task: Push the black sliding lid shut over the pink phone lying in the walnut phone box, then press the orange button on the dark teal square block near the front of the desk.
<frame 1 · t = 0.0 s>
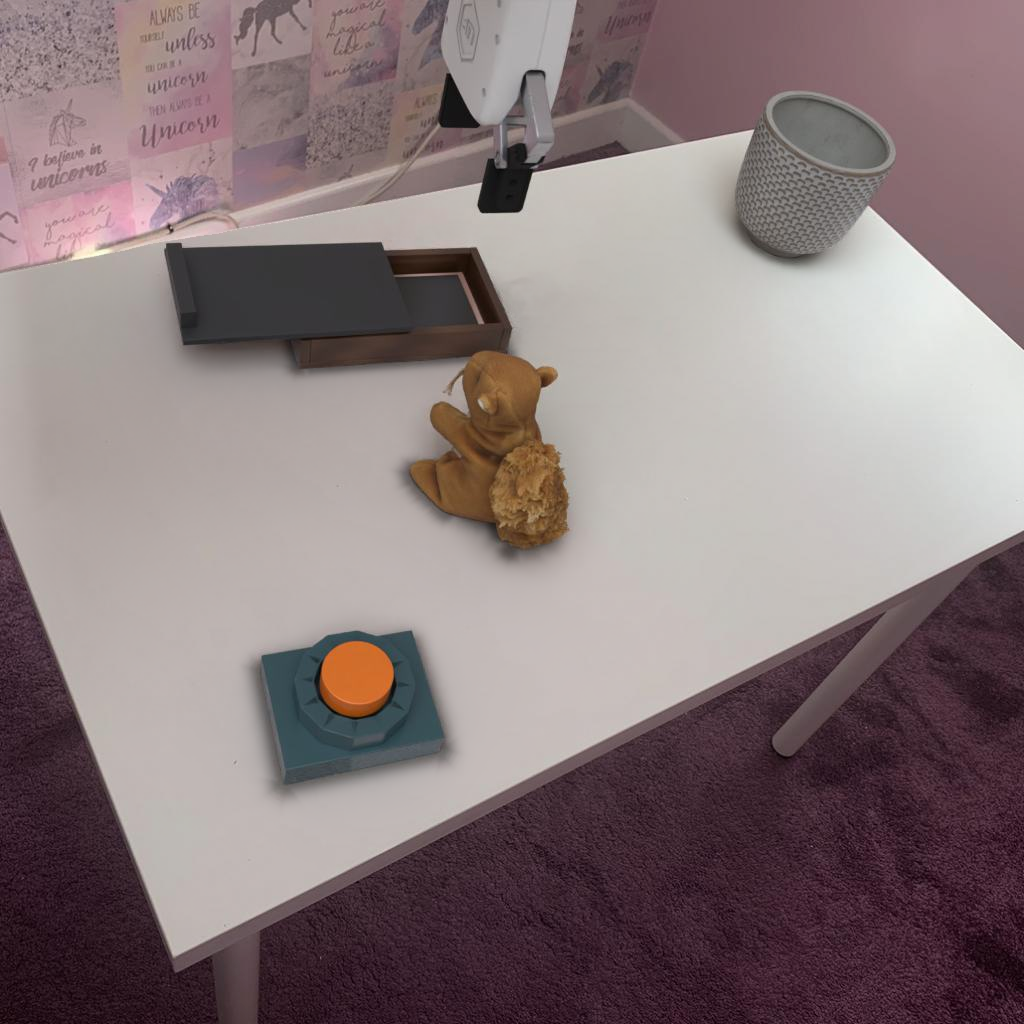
hand: (478, 166, 75), 19 cm above the table, tool pointing down, fingers open, 9 cm apart
stuffed squirrel: (494, 504, 82), on the table
phone box: (390, 318, 92), on the table
dark teal square block: (349, 711, 69), on the table
button: (356, 678, 65), point 4 cm above the table, slide at 0.1 cm
lid: (289, 282, 85), point 5 cm above the table, slide at 9.0 cm
planter: (775, 238, 113), on the table
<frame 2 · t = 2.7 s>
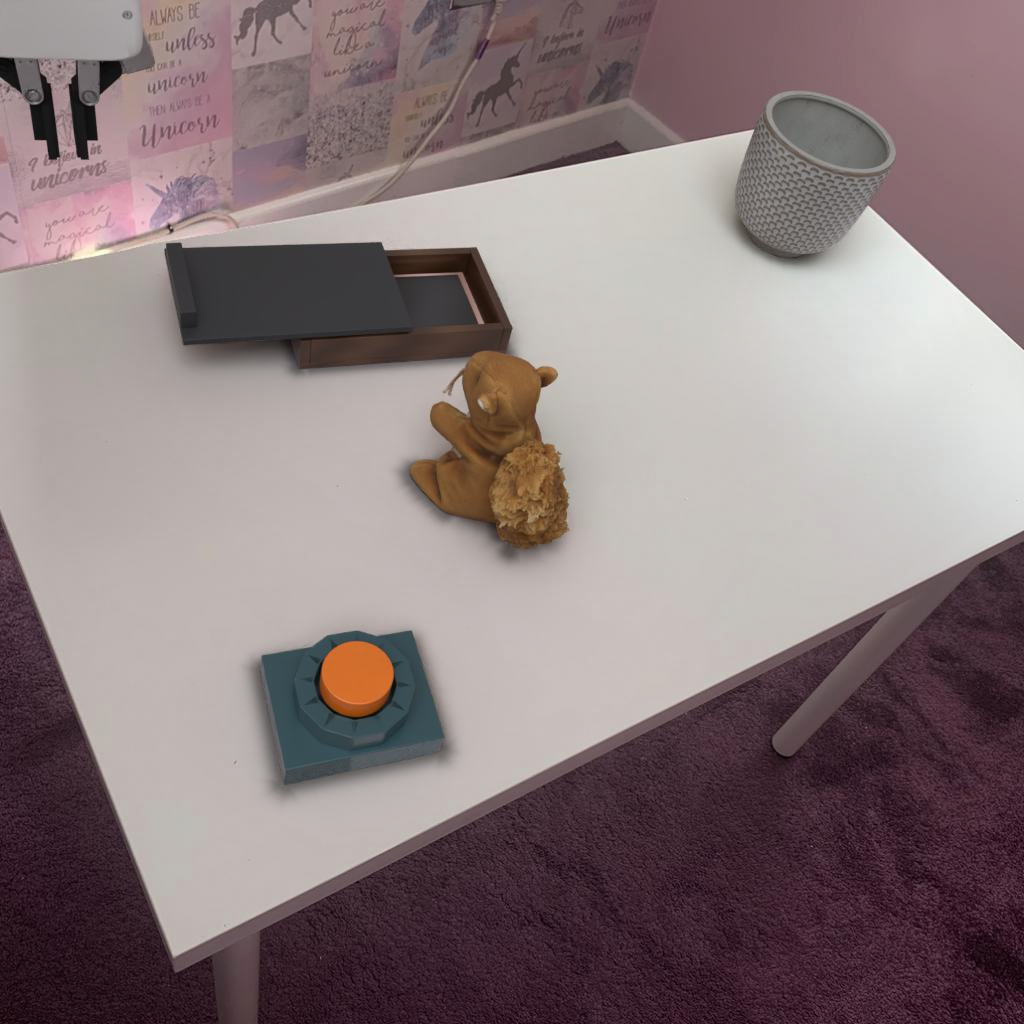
hand: (67, 146, 70), 17 cm above the table, tool pointing down, fingers closed
nothing on the table moved.
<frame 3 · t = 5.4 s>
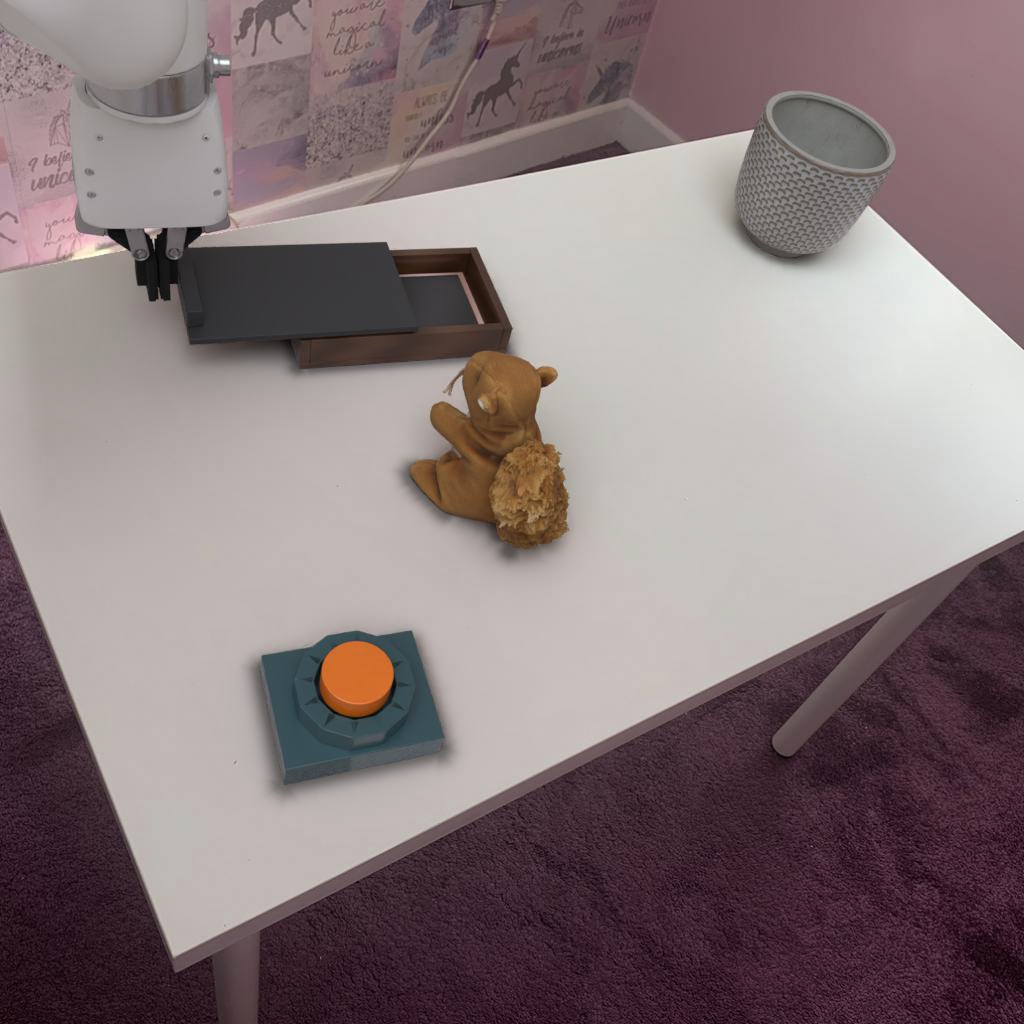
hand: (157, 288, 82), 4 cm above the table, tool pointing down, fingers closed
lid: (295, 282, 86), point 4 cm above the table, slide at 8.5 cm, touching gripper
everything else where it was.
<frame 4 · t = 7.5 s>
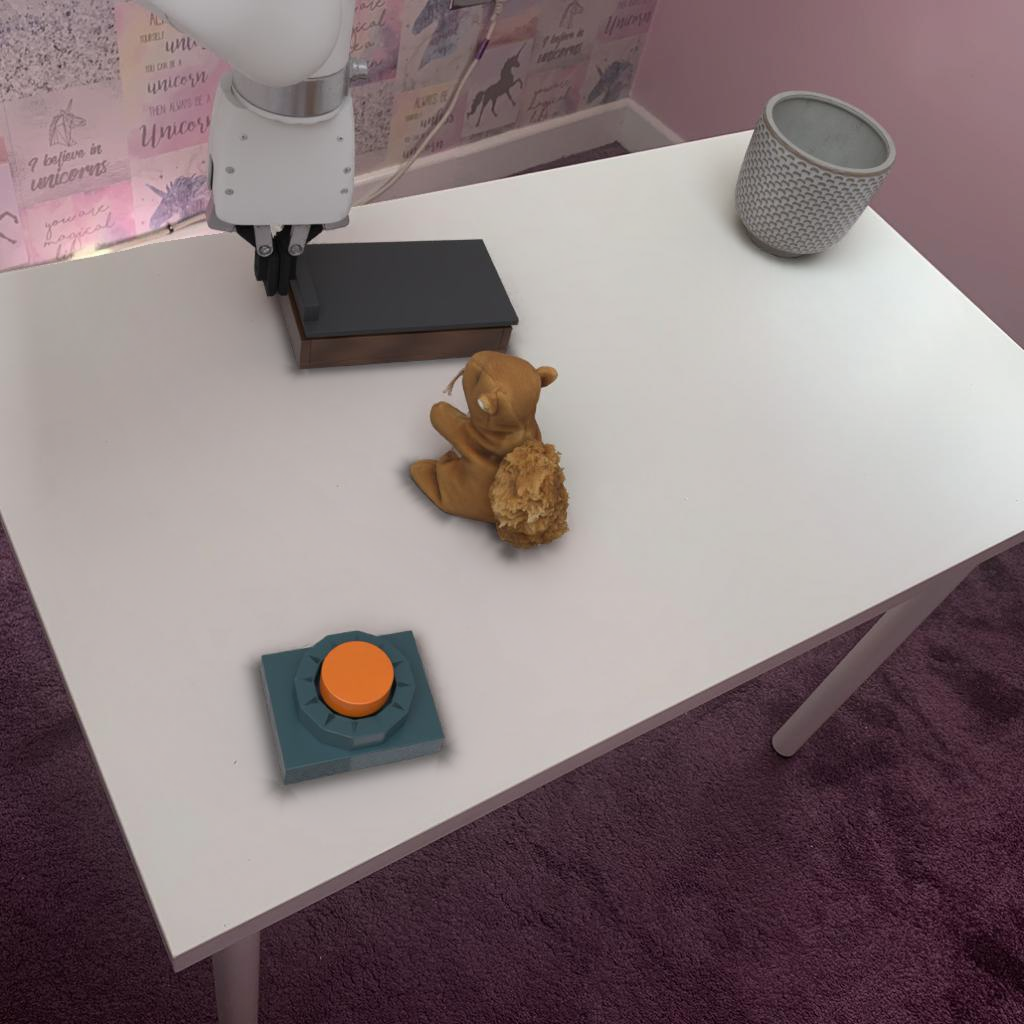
hand: (273, 284, 85), 4 cm above the table, tool pointing down, fingers closed
lid: (401, 277, 89), point 4 cm above the table, slide at -0.4 cm, touching gripper
everything else where it was.
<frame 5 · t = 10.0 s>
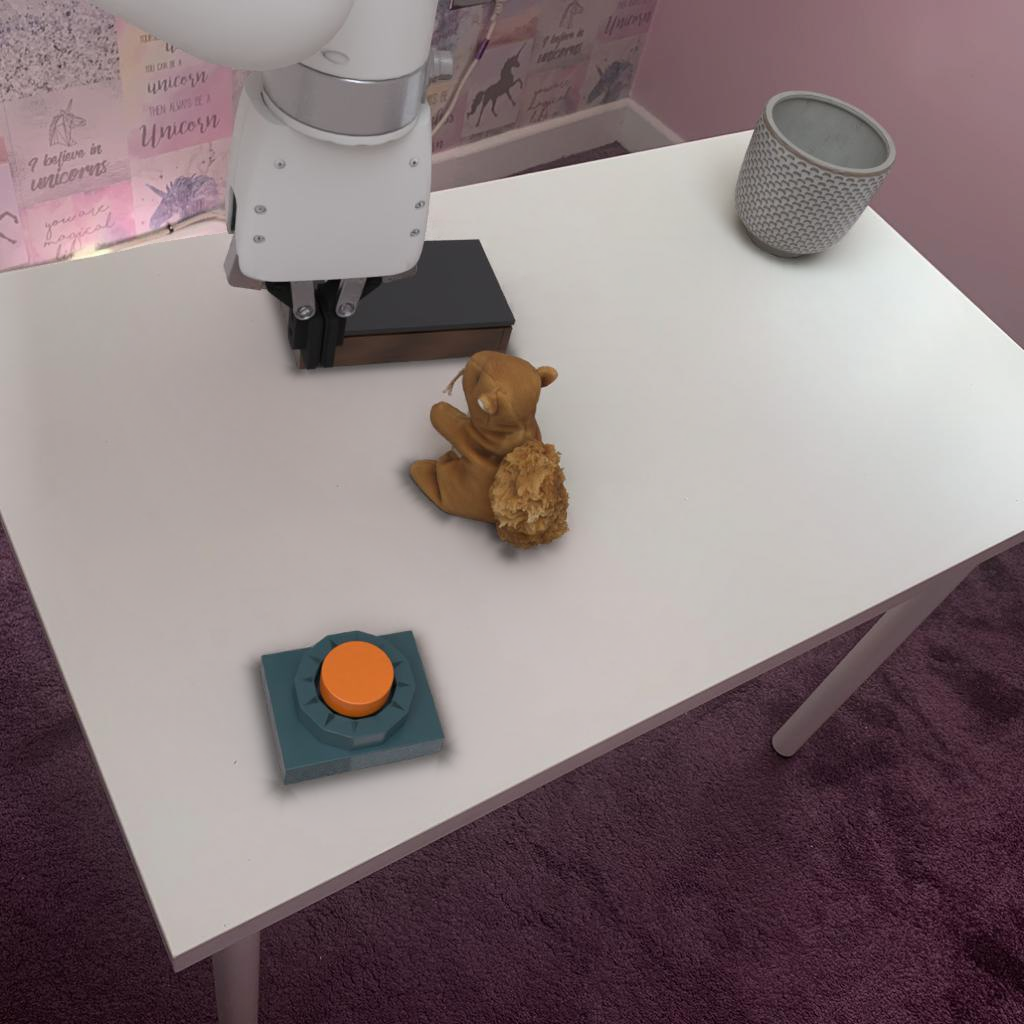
hand: (313, 351, 64), 17 cm above the table, tool pointing down, fingers closed
lid: (397, 278, 89), point 4 cm above the table, slide at 0.0 cm
everything else where it was.
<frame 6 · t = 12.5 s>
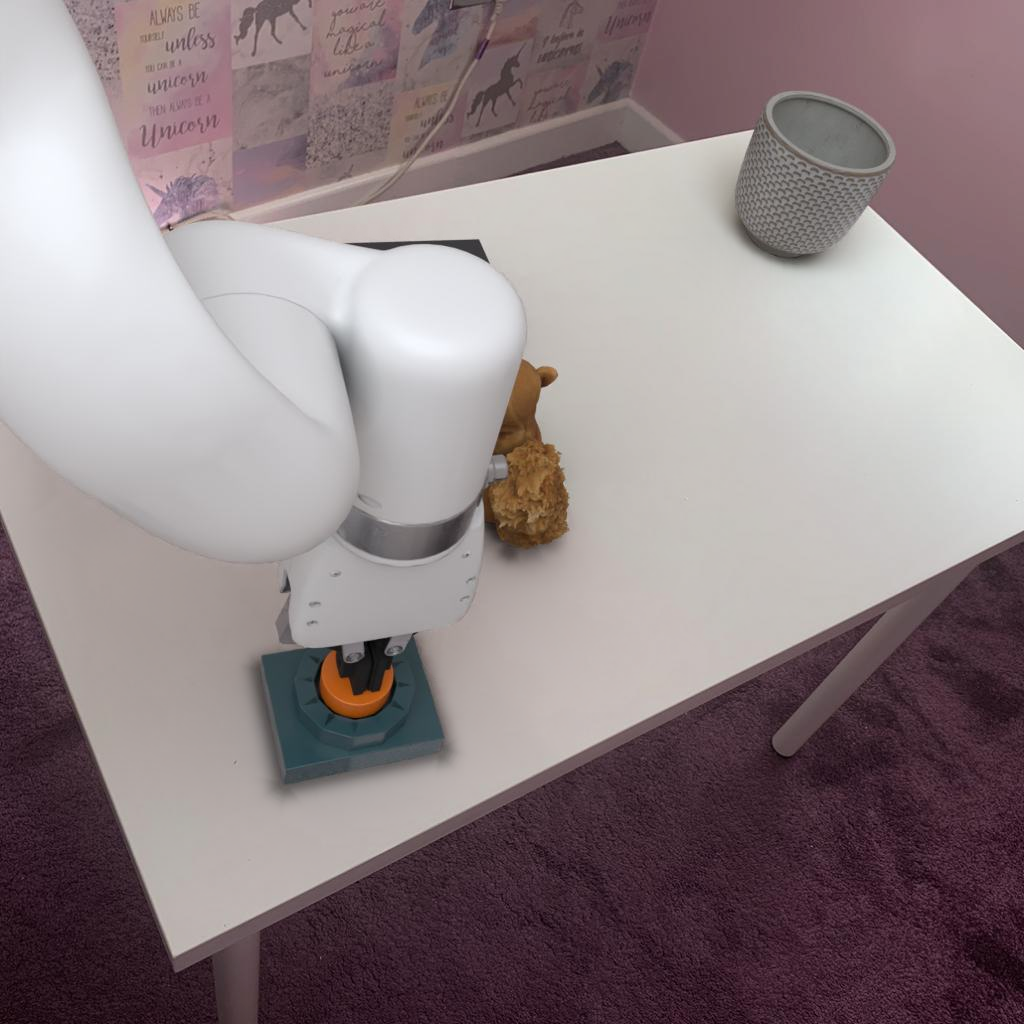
hand: (360, 672, 65), 5 cm above the table, tool pointing down, fingers closed
button: (356, 679, 65), point 4 cm above the table, slide at 0.0 cm, touching gripper
everything else where it was.
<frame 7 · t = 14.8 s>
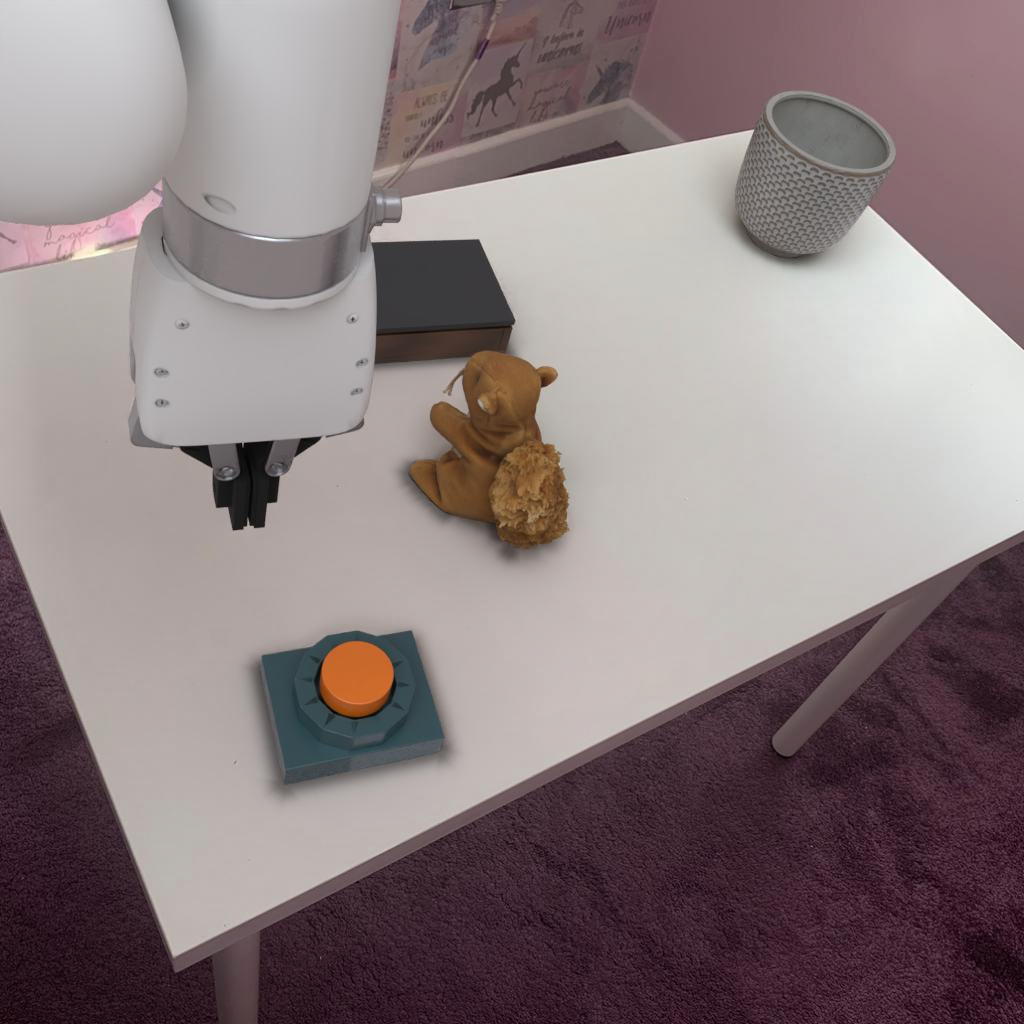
hand: (243, 506, 54), 18 cm above the table, tool pointing down, fingers closed
button: (356, 678, 65), point 4 cm above the table, slide at 0.1 cm
everything else where it was.
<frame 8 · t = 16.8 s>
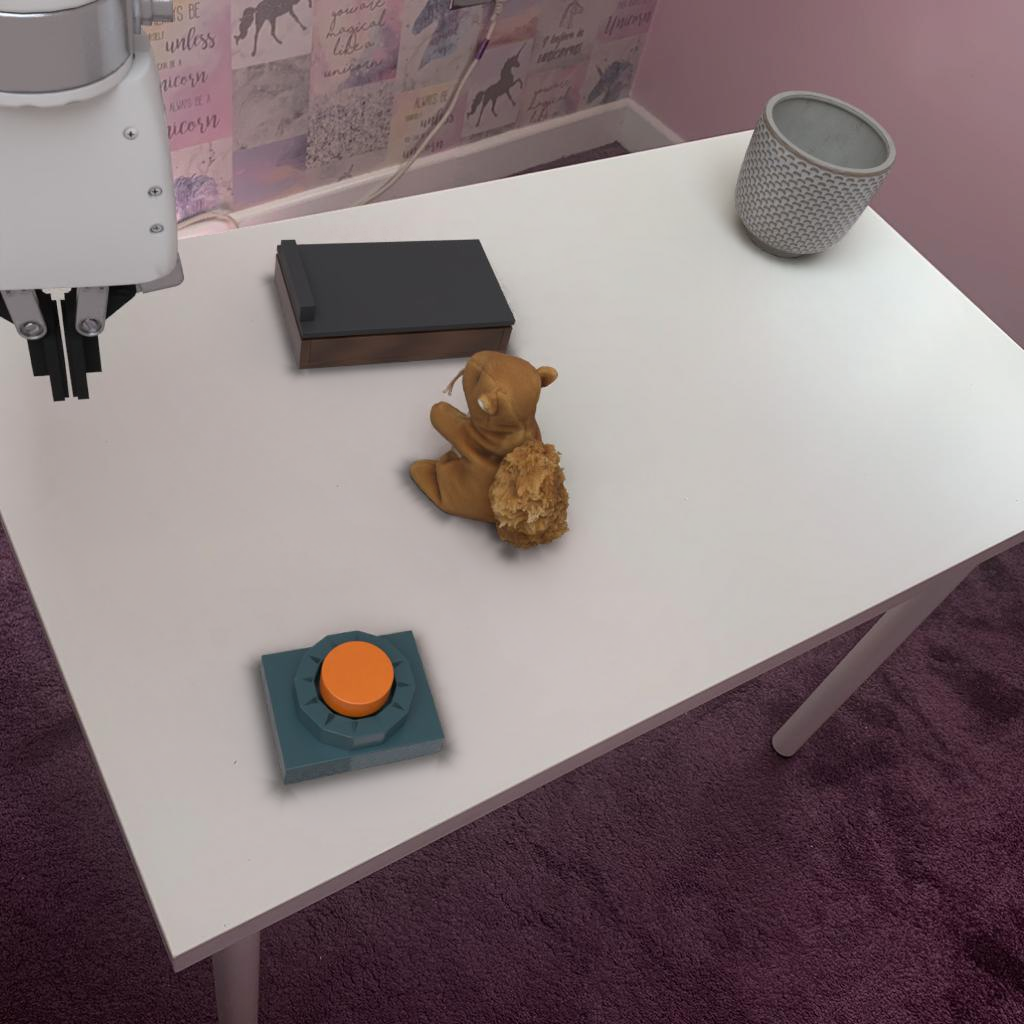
hand: (69, 378, 51), 23 cm above the table, tool pointing down, fingers closed
nothing on the table moved.
at the end: lid slide at 0.0 cm; button pushed in 1.1 cm at the most during the clip, back to where it started at the end; button slide at 0.1 cm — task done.
